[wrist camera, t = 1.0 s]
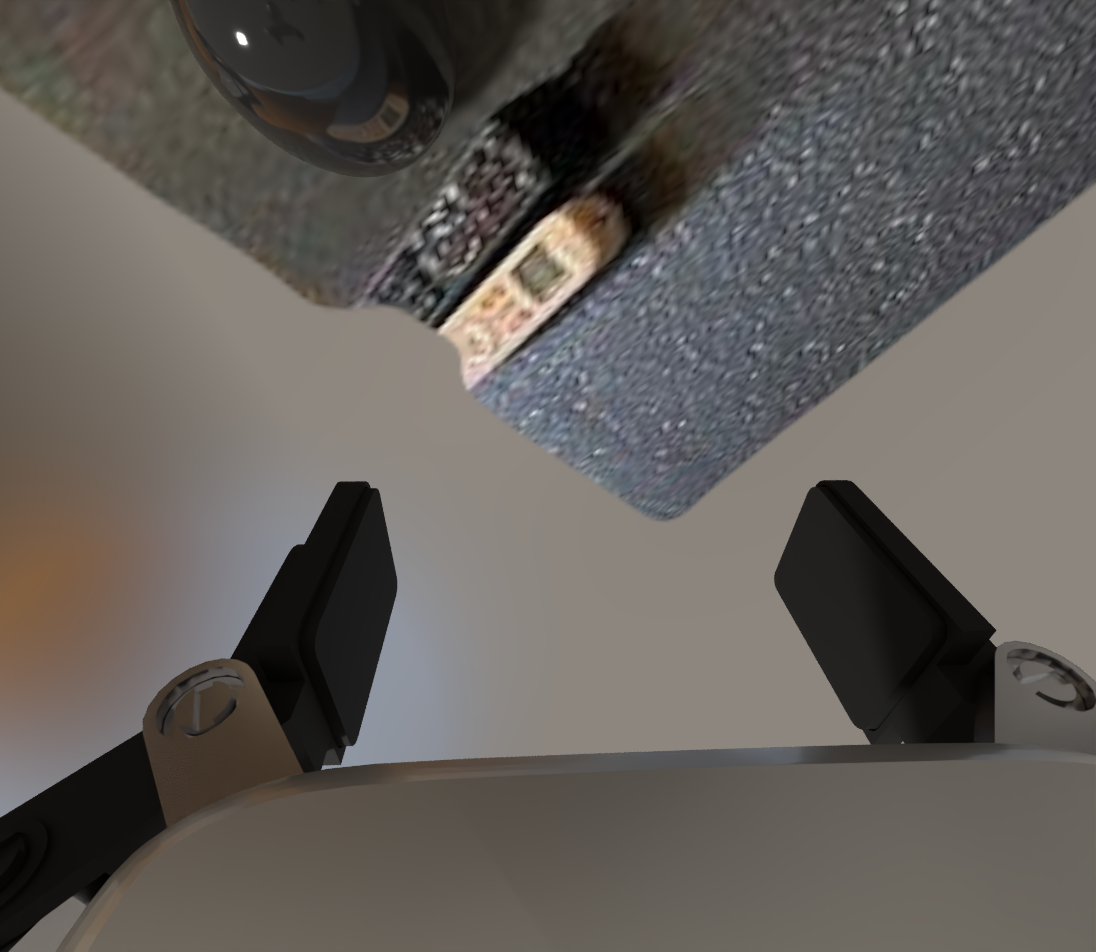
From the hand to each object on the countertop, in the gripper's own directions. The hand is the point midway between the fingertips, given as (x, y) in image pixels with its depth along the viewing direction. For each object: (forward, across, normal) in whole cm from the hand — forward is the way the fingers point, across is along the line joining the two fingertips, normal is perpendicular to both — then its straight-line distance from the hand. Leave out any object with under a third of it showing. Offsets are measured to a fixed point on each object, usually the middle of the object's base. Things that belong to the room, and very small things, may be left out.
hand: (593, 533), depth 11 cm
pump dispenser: (+27, +10, -10) cm, 30 cm away
